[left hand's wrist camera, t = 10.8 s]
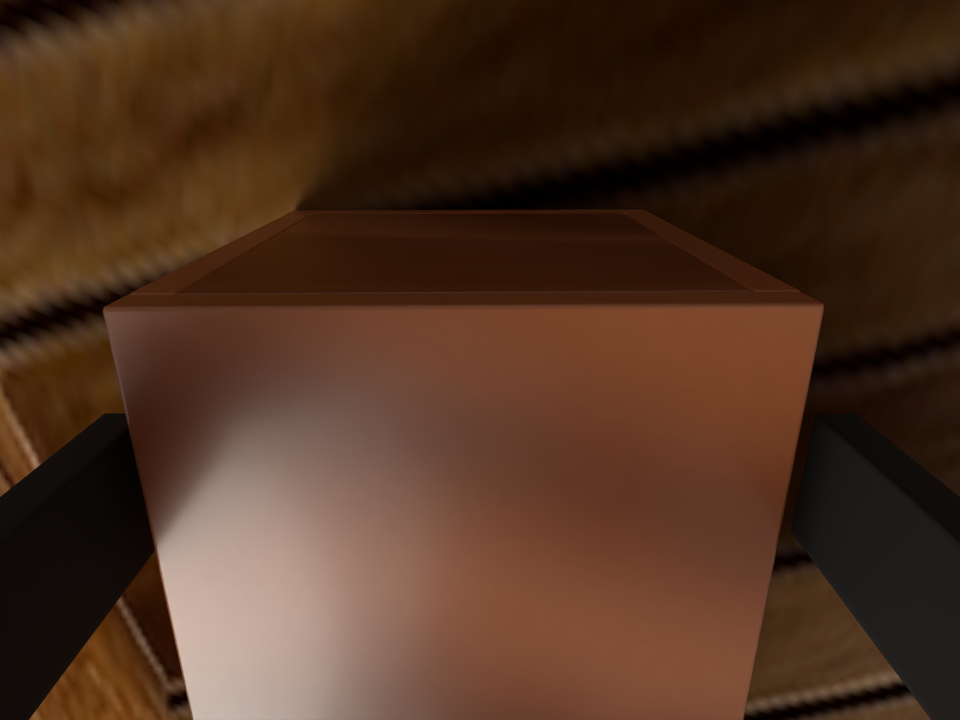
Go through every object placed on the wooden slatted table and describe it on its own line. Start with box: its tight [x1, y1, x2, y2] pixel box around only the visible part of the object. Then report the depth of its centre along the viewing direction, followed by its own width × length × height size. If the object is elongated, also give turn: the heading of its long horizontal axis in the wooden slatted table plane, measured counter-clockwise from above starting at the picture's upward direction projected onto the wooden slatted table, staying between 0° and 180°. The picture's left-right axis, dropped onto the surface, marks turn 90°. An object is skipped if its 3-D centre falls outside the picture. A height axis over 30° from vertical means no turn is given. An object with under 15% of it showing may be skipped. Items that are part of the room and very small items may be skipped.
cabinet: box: [103, 209, 824, 720], centre depth 18 cm, size 19×11×11 cm, turn 0°
